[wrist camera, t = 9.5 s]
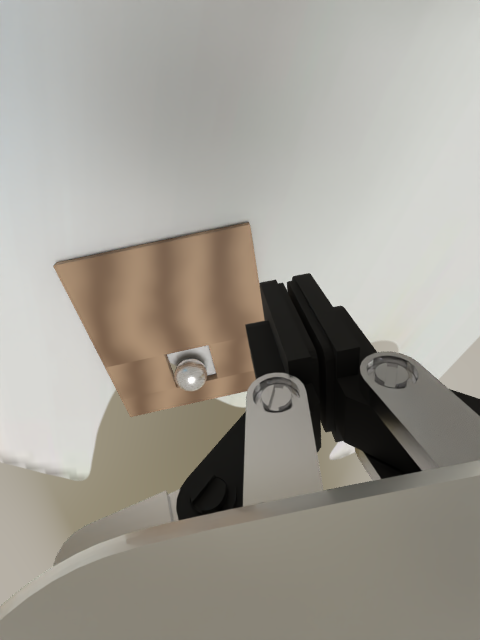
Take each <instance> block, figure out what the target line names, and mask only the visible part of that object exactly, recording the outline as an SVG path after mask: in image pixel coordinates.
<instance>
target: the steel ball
mask: <svg viewBox="0 0 480 640" xmlns="http://www.w3.org/2000/svg"><path fill="white" fill-rule="evenodd" d="M174 376H175V381H176V383H177V385H178V386H179V387H180V388H181V389H183V390H186V391H195V390H198V389H199V388H201V387H202V386H203V385H204V383H205V382H206V379H207V370H206V367H205V366H204V364H203V363H202V362H201V361H199V360H197V359H192V358H190V359H186V360H183V361H182V362H180V363H179V364H178V366H177V367H176V370H175V375H174Z"/></svg>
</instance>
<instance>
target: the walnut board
mask: <svg viewBox="0 0 480 640" xmlns="http://www.w3.org/2000/svg"><path fill="white" fill-rule="evenodd" d="M54 268H55V270H56V272H57V274H58V276H59V278H60V280H61V282H62V284H63V286H64V288H65V290H66V292H67V294H68V296H69V298H70V300H71V302H72V304H73V306H74V308H75V309H76V311H77V313H78V315H79V317H80V319H81V321H82V323H83V325H84V327H85V329H86V331H87V333H88V335H89V337H90V339H91V341H92V343H93V345H94V347H95V349H96V351H97V353H98V354H99V356H100V358H101V360H102V362H103V364H104V366H105V368H106V370H107V372H108V374H109V376H110V378H111V380H112V382H113V384H114V386H115V388H116V390H117V392H118V394H119V396H120V398H121V400H122V401H123V403H124V405H125V407H126V409H127V411H128V413H129V415H130V417H133V416H137V415H141V414H146V413H151V412H155V411H160V410H164V409H169V408H173V407H177V406H182V405H186V404H191V403H195V402H200V401H204V400H209V399H213V398H218V397H222V396H227V395H231V394H236V393H240V392H245V391H248V388H249V387H250V385H251V384H252V383H253V382H254V381H255V380H256V378H255V373H254V368H253V364H252V359H251V354H250V348H249V343H248V338H247V333H246V327H245V324H250V323H255V322H260V321H265V320H264V313H263V306H262V299H261V293H260V286H259V280H258V273H257V267H256V260H255V254H254V247H253V241H252V234H251V228H250V224H249V222H247V223H242V224H238V225H233V226H228V227H223V228H219V229H214V230H209V231H204V232H200V233H195V234H190V235H185V236H180V237H176V238H171V239H166V240H161V241H157V242H152V243H147V244H142V245H138V246H133V247H128V248H123V249H119V250H114V251H109V252H104V253H100V254H95V255H90V256H85V257H81V258H76V259H71V260H66V261H62V262H57V263H56V264H55V265H54ZM206 345H209V348H210V352H211V356H212V359H213V363H214V366H215V370H216V374H214V375H209V376H207V379H206V382H205V383H204V385H203V386H202V387H201V388H199V389H198V390H195V391H186V390H183V389H181V388H180V387H179V386H178V385H177V383H176V381H175V376H174V374H173V371H172V368H171V365H170V363H169V360H168V357H167V355H166V354H170V353H174V352H179V351H184V350H188V349H193V348H197V347H202V346H206Z"/></svg>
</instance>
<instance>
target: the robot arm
mask: <svg viewBox="0 0 480 640" xmlns="http://www.w3.org/2000/svg"><path fill="white" fill-rule="evenodd" d="M287 290H288V292H287ZM287 290H286V288H285V286H284V284H283V283H279V284H278V283H277V281H276V280H272V281H267V282H262V283H260V292H261V299H262V306H263V313H264V320H265V321H260V322H255V323H250V324H245V327H246V333H247V338H248V343H249V348H250V354H251V359H252V364H253V368H254V373H255V378H256V380H255V381H254V382H253V383H252V384H251V385H250V387H249V388H248V391H247V396H246V412H245V413H244V414H243V416H241V418H240V419H239V420H238V421H237V422H236V423H235V424H234V426H233V427H232V428H231V429H230V430H229V431H228V432H227V434H226V435H225V436H224V437H223V438H222V439H221V440H220V441H219V443H218V444H217V445H216V446H215V447H214V448H213V449H212V451H211V452H210V453H209V454H208V455H207V456H206V458H205V459H204V460H203V461H202V462H201V463H200V464H199V465H198V467H197V468H196V469H195V470H194V471H193V472H192V473H191V474H190V476H189V477H188V478H187V479H186V481H185V482H184V484H183V485H182V487H181V488H180V489H179V490H177V491H174V492H172V493H170V494H168V493H167V491H164V492H161V493H159V494H157V495H154V496H152V497H150V498H148V499H145V500H143V501H141V502H138V503H136V504H134V505H132V506H129V507H127V508H125V509H123V510H120V511H118V512H115V513H113V514H111V515H109V516H106V517H104V518H102V519H99V520H97V521H95V522H93V523H90V524H88V525H86V526H84V527H82V528H81V529H79V530H78V531H76V532H75V533H73V534H72V535H71V536H70V538H69V539H68V540H67V541H66V542H65V543H64V544H63V546H62V547H61V549H60V551H59V553H58V554H57V556H56V558H55V562H54V565H53V567H52V568H50V569H49V570H47V571H46V572H44V573H43V574H41V575H40V576H38V577H37V578H35V579H34V580H33V581H31V582H30V583H28V584H27V585H25V586H24V587H23V588H22V589H20V590H19V591H18V592H16V593H15V594H14V595H13V596H12V597H10V598H9V599H8V600H7V601H6V602H4V603H3V604H2V605H1V606H0V640H480V399H478V398H475V397H472V396H469V395H465V394H463V393H460V392H456V391H453V390H450V389H448V388H447V387H446V386H445V385H443V384H442V383H441V382H440V381H439V380H438V379H437V378H435V377H434V376H433V375H432V374H431V373H430V372H429V371H427V370H426V369H425V368H424V367H423V366H422V365H421V364H419V363H418V362H417V361H415V360H414V359H412V358H411V357H408V356H406V355H404V354H400V353H396V352H378V353H377V352H376V350H375V349H374V347H373V346H372V345H371V343H370V342H369V341H368V339H367V338H366V337H365V335H364V334H363V332H362V331H361V330H360V328H359V327H358V326H357V324H356V323H355V322H354V320H353V319H352V318H351V316H350V315H349V313H348V312H347V311H346V309H345V308H344V307H343V306H337V307H333V306H332V305H331V303H330V302H329V300H328V299H327V298H326V296H325V295H324V293H323V292H322V290H321V289H320V287H319V286H318V284H317V283H316V281H315V280H314V278H313V277H312V276H311V274H310V273H308V274H303V275H297V276H293V278H292V281H289V282H287ZM320 421H321V423H322V426H323V428H324V430H325V432H330V431H331V432H332V434H333V437H334V439H335V442H340V441H344V442H345V443H347V444H349V445H351V446H353V447H355V452H356V454H357V457H358V458H359V460H360V462H361V463H362V465H363V466H364V468H365V469H366V471H367V472H368V474H369V476H370V477H371V479H372V480H373V481H369V482H365V483H359V484H354V485H349V486H344V487H339V488H334V489H329V490H324V491H323V485H322V480H321V474H320V468H319V462H318V456H317V452H318V451H319V449H320V448H321V426H320Z"/></svg>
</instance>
